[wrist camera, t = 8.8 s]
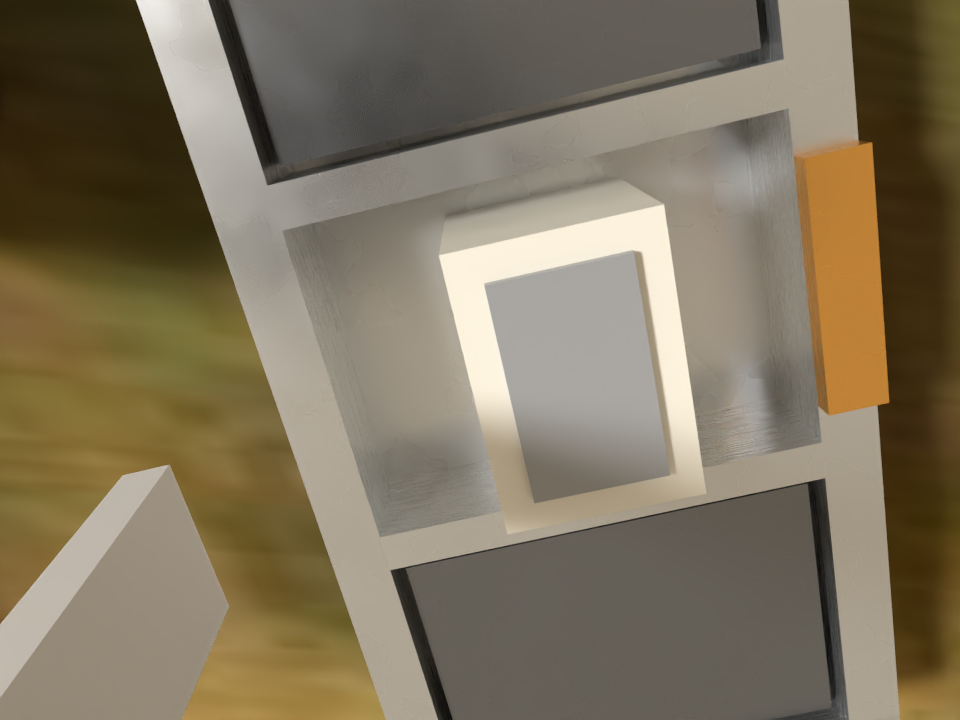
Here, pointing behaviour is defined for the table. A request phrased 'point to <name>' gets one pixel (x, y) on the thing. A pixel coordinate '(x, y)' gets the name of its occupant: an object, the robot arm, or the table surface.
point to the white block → (574, 352)
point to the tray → (442, 370)
